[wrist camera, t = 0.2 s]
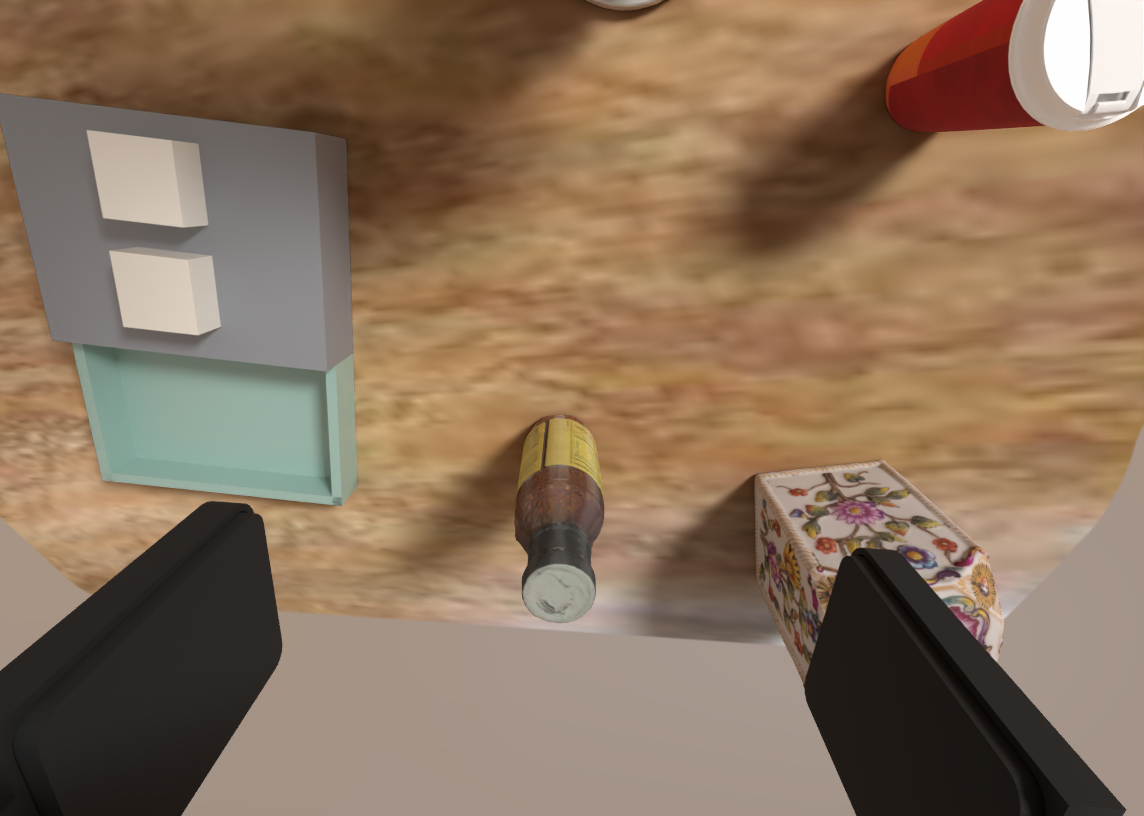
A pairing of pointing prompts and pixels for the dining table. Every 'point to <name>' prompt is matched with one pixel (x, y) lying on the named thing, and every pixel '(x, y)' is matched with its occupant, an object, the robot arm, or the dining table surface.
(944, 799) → the robot arm
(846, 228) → the dining table surface
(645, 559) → the dining table surface
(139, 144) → the tile
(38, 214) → the slate block
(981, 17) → the coffee cup
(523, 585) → the sauce bottle
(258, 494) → the box
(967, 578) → the decorative jar
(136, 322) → the tile
